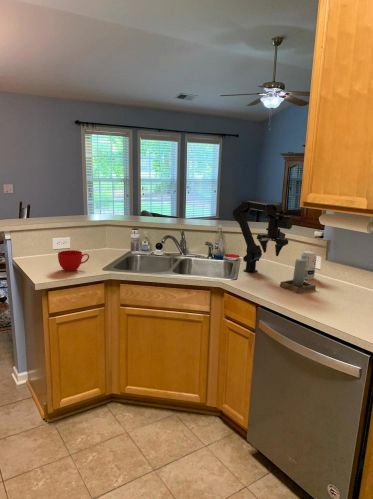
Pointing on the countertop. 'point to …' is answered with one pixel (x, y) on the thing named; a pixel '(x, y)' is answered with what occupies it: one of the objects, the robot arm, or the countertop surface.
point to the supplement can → (309, 264)
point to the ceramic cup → (71, 260)
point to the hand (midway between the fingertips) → (270, 254)
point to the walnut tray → (305, 288)
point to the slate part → (299, 273)
